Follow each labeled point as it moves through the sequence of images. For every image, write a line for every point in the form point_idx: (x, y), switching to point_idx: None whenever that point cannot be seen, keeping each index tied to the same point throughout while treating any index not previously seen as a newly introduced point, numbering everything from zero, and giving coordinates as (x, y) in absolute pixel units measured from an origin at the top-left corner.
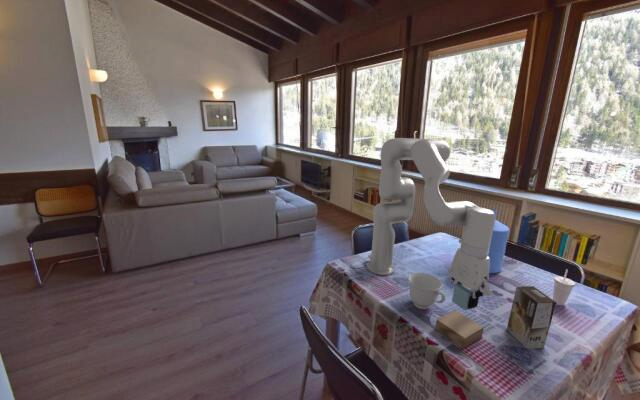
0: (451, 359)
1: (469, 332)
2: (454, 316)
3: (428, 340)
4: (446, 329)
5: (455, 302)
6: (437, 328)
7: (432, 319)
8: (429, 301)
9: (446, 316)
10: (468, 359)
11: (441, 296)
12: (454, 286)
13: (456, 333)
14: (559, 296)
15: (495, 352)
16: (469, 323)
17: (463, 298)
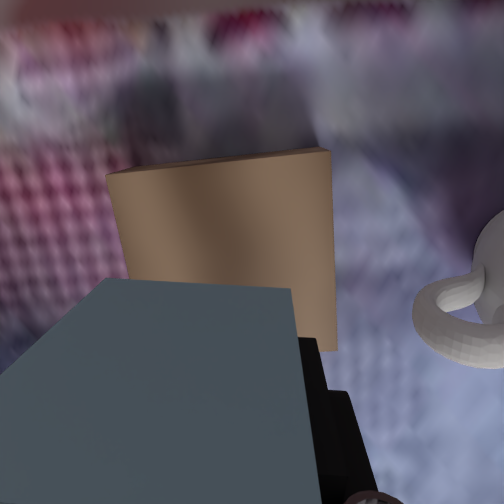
0: (86, 22)
1: (141, 250)
2: (294, 293)
3: (259, 9)
4: (242, 158)
5: (239, 293)
6: (304, 148)
7: (386, 200)
8: (498, 249)
9: (318, 244)
10: (63, 124)
11: (451, 316)
12: (376, 488)
13: (167, 167)
14: None
15: (69, 294)
16: None
17: (87, 356)
